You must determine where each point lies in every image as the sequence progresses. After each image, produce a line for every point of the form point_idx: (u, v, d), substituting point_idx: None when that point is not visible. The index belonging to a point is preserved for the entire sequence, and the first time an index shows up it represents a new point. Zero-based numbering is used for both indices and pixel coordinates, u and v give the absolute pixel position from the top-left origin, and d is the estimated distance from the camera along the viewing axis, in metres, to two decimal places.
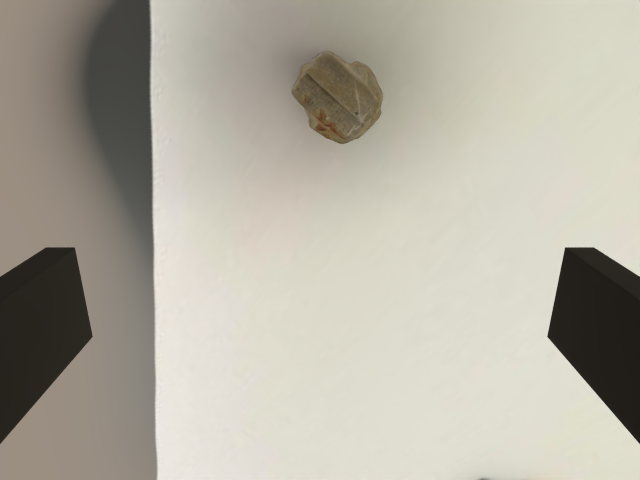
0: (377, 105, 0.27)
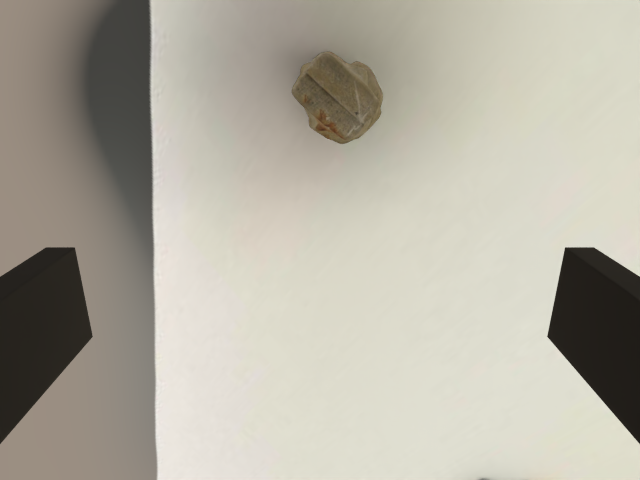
0: (377, 105, 0.27)
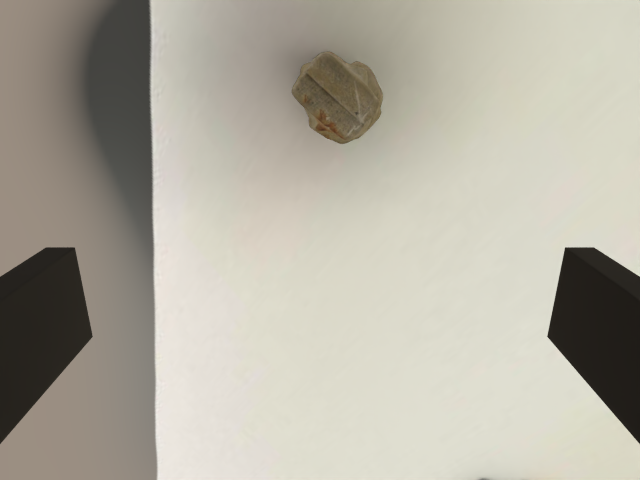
0: (377, 105, 0.27)
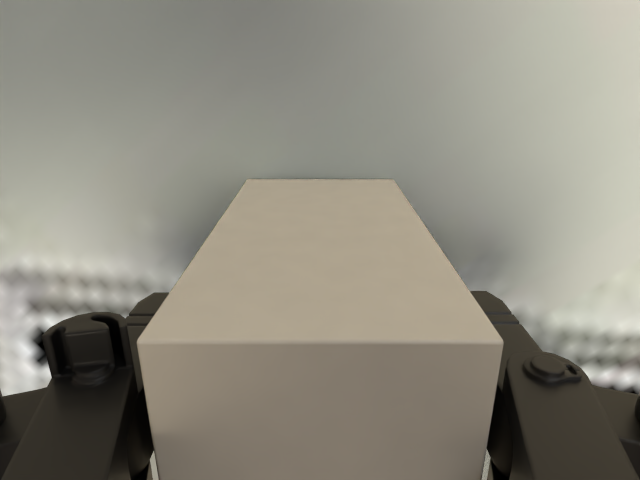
0: None
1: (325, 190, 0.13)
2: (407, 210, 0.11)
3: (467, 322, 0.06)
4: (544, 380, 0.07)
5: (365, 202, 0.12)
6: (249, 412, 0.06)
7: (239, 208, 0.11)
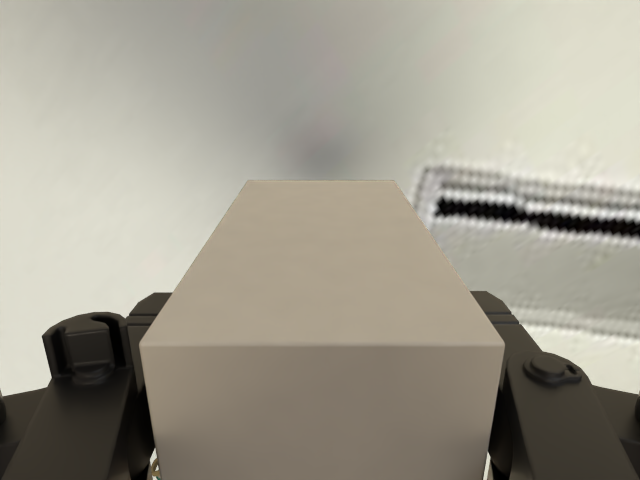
0: None
1: (326, 191, 0.13)
2: (408, 211, 0.11)
3: (469, 324, 0.06)
4: (543, 380, 0.07)
5: (366, 203, 0.12)
6: (251, 414, 0.06)
7: (240, 209, 0.11)
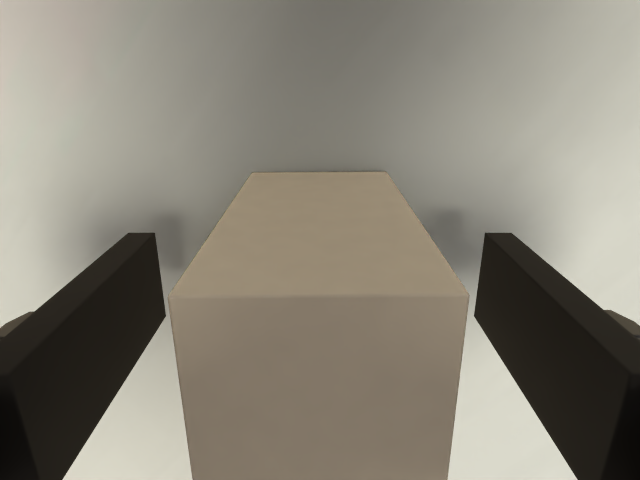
0: None
1: (323, 181, 0.14)
2: (397, 197, 0.12)
3: (440, 281, 0.07)
4: None
5: (359, 191, 0.13)
6: (260, 357, 0.07)
7: (246, 196, 0.12)
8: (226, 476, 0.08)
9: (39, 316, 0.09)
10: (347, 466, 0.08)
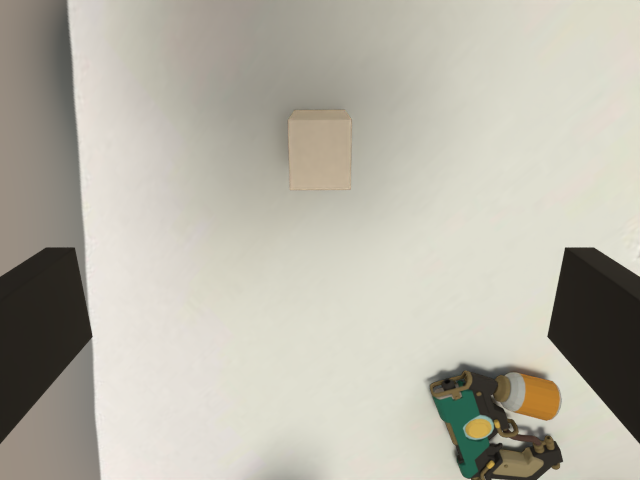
0: None
1: (321, 111, 0.40)
2: (344, 112, 0.38)
3: (346, 118, 0.33)
4: None
5: (333, 112, 0.39)
6: (306, 135, 0.33)
7: (296, 112, 0.38)
8: (297, 169, 0.34)
9: None
10: (326, 166, 0.34)
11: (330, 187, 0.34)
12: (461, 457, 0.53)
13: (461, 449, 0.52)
